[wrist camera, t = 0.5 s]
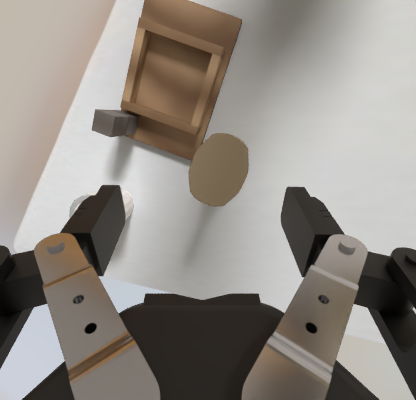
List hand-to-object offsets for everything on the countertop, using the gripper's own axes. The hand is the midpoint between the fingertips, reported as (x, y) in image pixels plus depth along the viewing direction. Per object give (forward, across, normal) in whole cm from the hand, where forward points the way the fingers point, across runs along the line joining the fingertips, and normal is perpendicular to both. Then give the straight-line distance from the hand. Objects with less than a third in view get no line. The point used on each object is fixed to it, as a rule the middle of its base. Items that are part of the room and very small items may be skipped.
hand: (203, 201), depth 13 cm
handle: (+24, -4, +7) cm, 25 cm away
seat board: (+27, +4, -1) cm, 28 cm away
